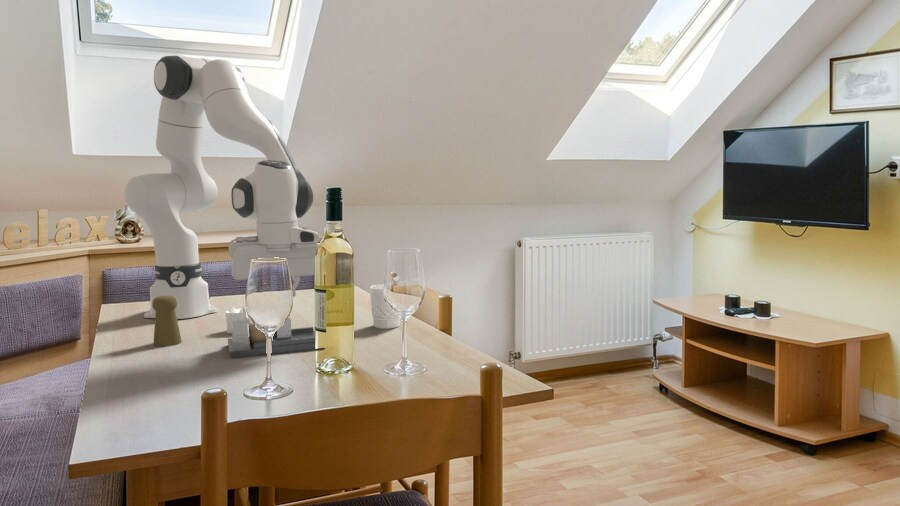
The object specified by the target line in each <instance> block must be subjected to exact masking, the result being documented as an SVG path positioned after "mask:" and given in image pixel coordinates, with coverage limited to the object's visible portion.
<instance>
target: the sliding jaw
mask: <svg viewBox="0 0 900 506" xmlns="http://www.w3.org/2000/svg"><path fill="white" fill-rule="evenodd" d="M291 320H292V319H291V318H290V316H289V318H288V319H287V321H286V322H285V323H284V325H283V326H281V327H280V328H279V329H278V330H277V331H276V332H275V334H274V336H275V338H276V340H287V339H292V338H291V329H292V324H291Z"/></svg>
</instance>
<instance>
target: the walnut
mask: <svg viewBox="0 0 900 506" xmlns="http://www.w3.org/2000/svg"><path fill="white" fill-rule="evenodd" d="M248 337H249V341H250V343H251V344H254V343H257V342H266V336H265V334H264V333H263V332H261V331H260V330H258V329H257V328H256V327H255V325H254V324H253V323H252V322H251V323H250V324H249V329H248Z"/></svg>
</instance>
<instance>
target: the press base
mask: <svg viewBox="0 0 900 506" xmlns="http://www.w3.org/2000/svg"><path fill="white" fill-rule="evenodd" d="M231 320H232V333H231V335H232V337H231V338H230V337H229V338H227V348H228V355H229V359H238V358H248V357H257V356H267V355H266V342H257V343H254V344H251V343H250V341H249V329H248V323H247V317H246V314H245V313H236V314H231ZM291 338H292V339H287V340H276V338H275V336H273V341H272V354H271V355H277V354H288V353H297V352H305V351H315V331H314V327H313V326H311V327H310V326H309V327H308V326H307V327H298V328H291Z"/></svg>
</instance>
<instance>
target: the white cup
mask: <svg viewBox="0 0 900 506" xmlns="http://www.w3.org/2000/svg"><path fill="white" fill-rule="evenodd" d="M384 284H385V283H382V284H381V283H380V284H374V285H371V286H369V293H370V306H371V316H372V321H373V324H372V325H373V328H376V329H384V330H385V329H387V330H389V329H395V328H398V327H400V326H401V317H400V318H399V317H398V316H397V315H396V314H395V313H394V312H393V311H392V310H391V309H390V307H389V306H388V305H387V303H386V302H385V300H384V296H383V287H384Z"/></svg>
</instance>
